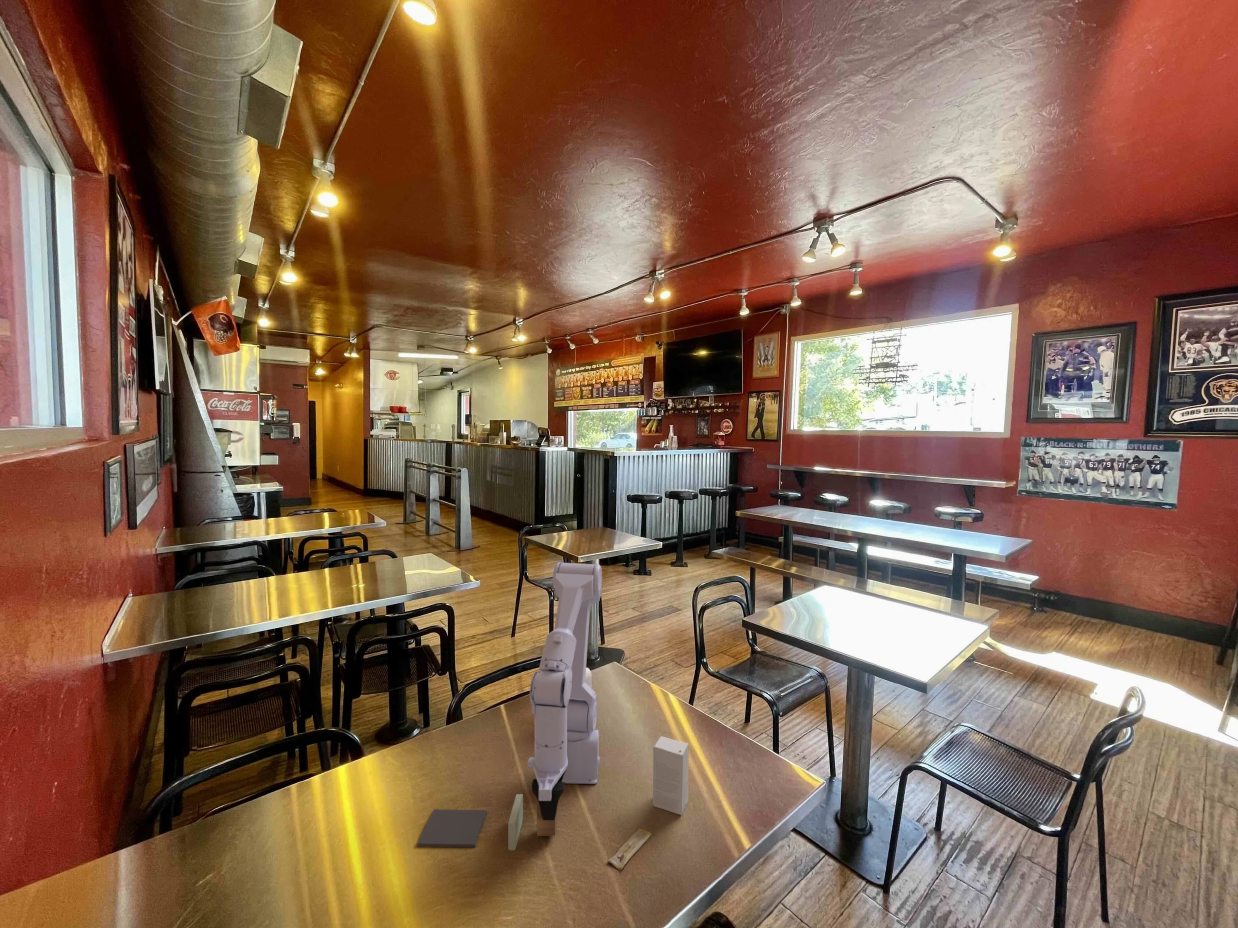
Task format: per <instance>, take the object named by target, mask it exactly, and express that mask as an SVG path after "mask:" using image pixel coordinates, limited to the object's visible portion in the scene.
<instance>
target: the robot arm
mask: <svg viewBox="0 0 1238 928" xmlns="http://www.w3.org/2000/svg"><path fill="white" fill-rule="evenodd" d="M602 582H603V569H602V566H601V565H600V564H599V563H595V564H593V563H591V564H590V563H573V562H571V563H570V562H563V561H558V562H557V563H555V565H554V568H553V573H552V587H553V590H554V592H555V596H556V597H557V598H558V602H557V607H556V616H555V617H556V618H555V624H554V630H552V631H550V632H548V634H547V635H546V637H545V638H546V639H545V642H544V645H543V646H544V647H543V649H542V650H543V652H542V655H541V659H540V663H539V667H538V671H535V672H534V673H533V675H532V677H531V681H530V686H529V687H530V688H529V702H530V705H531V714H532V715H533V716H534V746H533V747H534V750H533V751H534V754H533V755H534V757H533V756H532V757H531V756H530V757H529V758H528V760H527V768H529V769H533V772H534V774H535V775H534V776H535V778H536V779H535V778H533V779H532V782H531V793H532V794H533V795H534V796H535V798H536V801H537V800H538V803H539V806H540V810H541V815H542V818H543V820H555V817H556V812H557V813H558V806H559V800H560V798H561V796H562V795H563V792H564V791H565V786H566V784H570V785H571V784H572V785H573V784H578V785H579V784H583V785H584V784H587V785H588V784H589V785H596V784H597V783H598V776H599V775H598V774H599V768H600V765H601V756H600V755H599V750H600V749H599V747H600V746H599V745H600V742H599V740H600V737H599V735H600V731H599V729H596V725H597V718H598V703H597V701H598V696H597V693H596V692H595V691H594V689H593V688H592V689H591V688H590V687H589V686H588V685H587V684H586V683H585V675H586V668H587V661H588V660H587V658H588V646H589V645H588V644H589V629H590V615H591V610H592V606H593V605H594V604H596V603H599V602H600V599H601V596H602V595H601V594H602V585H603V584H602ZM570 698H572V699H570ZM577 699H582V700H577Z"/></svg>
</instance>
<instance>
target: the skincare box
mask: <svg viewBox="0 0 1238 928" xmlns="http://www.w3.org/2000/svg"><path fill="white" fill-rule="evenodd" d="M689 749H690V744H689V743H688V742H684V741H680V740H676V739H673V738H669V737H665V736H662V735H660V737H659V738H658V739H657V741H656V742H655V745H653V749H652V751H653V753H652V754H653V755H652V756H653V762H652V763H653V767H652V768H653V769H652V770H653V771H652V777H653V779H652V780H653V781H652V806H653V807H655V808H657V809H658V808H659V809H662V810H665V811H668V812H670V813H673V814H676V815H679V816H682V815H683V814H684V811H685V809H686V807H687V805H688V803H689V769H690V768H689V767H690V766H689V761H690V760H689V759H690V758H689V757H690V756H689V754H690V752H689V751H690V750H689Z"/></svg>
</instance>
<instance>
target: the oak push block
mask: <svg viewBox="0 0 1238 928" xmlns="http://www.w3.org/2000/svg"><path fill="white" fill-rule="evenodd" d="M557 825H558V811H557V812H556V817H555V820H543V818H542V815H541V810H540V806H539V803H538V800H537V799H536V836H539V837H540V836H541V837H543V836H545V837H546V836H547V837H549V836H551V837H556V832H557V827H558V826H557Z"/></svg>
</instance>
